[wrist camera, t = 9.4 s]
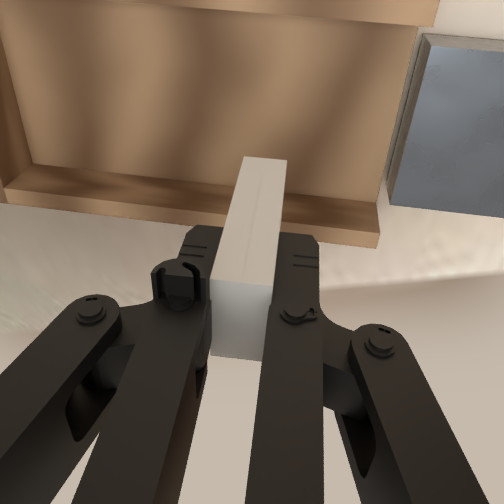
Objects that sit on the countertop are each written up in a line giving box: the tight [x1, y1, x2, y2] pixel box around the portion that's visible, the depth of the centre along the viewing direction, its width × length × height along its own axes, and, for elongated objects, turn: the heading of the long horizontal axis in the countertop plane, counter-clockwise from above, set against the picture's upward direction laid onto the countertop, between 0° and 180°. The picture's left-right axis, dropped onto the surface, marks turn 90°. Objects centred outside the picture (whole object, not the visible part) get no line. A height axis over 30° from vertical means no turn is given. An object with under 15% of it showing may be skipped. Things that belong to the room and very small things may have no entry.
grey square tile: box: [386, 34, 504, 218], centre depth 23 cm, size 8×8×2 cm
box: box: [0, 0, 440, 249], centre depth 24 cm, size 22×12×4 cm, turn 87°
